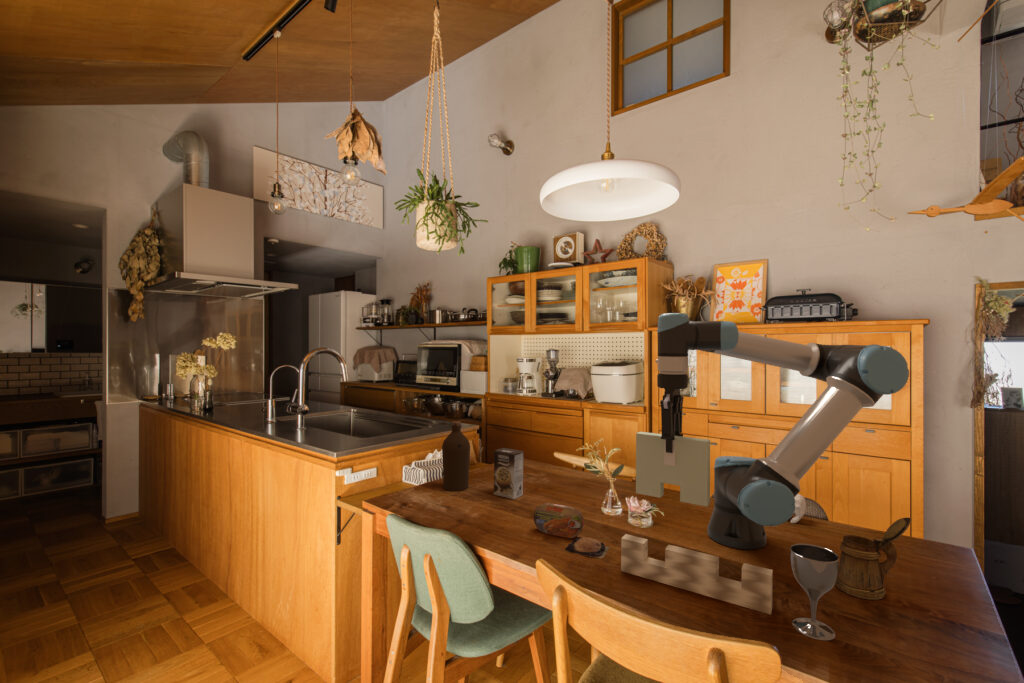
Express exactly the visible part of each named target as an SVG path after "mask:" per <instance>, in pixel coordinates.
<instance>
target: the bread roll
mask: <svg viewBox="0 0 1024 683" xmlns="http://www.w3.org/2000/svg"><path fill="white" fill-rule="evenodd" d="M609 550H610V547H608V546H605V544H604V542H600V541H599V540H597V539H596V538H595V539H594V538H591V537H587V536H586V537H584V536H583V537H580V536H579V537H578V536H577V537H575V539H572V540H571V542H570V543H568V545H567V546H566V547H565V550H564V551H565V552H567V553H571V554H574V555H579V556H583V557H588V558H595V559H600V560H603V559H605V556H606V554H607V553H608V552H609Z"/></svg>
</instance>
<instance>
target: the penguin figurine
mask: <svg viewBox="0 0 1024 683" xmlns="http://www.w3.org/2000/svg"><path fill="white" fill-rule="evenodd" d="M794 498H795V506H796V507H795V511H794V513H793V515H794V514H795V515H794V517H793V515H792V516H791V518H790V523H791V524H796V523H798V522H799V521H800V520H801V519H802V518H803V517H804V515H805V513H806V507H807V506H806V505H807V503H806V499H805V497H804V496H803V495H801V494H799V493H798V494H797V495H796V496H795V497H794Z"/></svg>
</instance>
